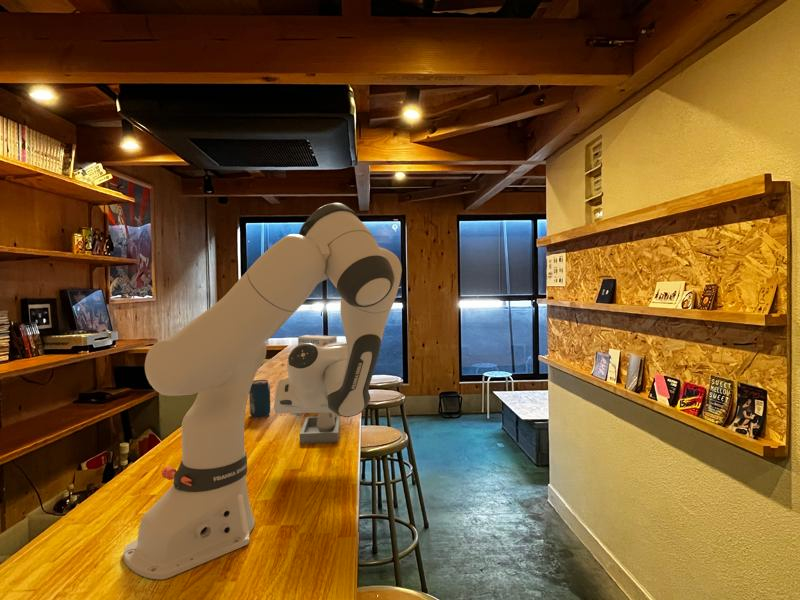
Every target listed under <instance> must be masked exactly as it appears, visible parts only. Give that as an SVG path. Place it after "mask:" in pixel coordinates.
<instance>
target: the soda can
mask: <svg viewBox="0 0 800 600" xmlns="http://www.w3.org/2000/svg"><path fill="white" fill-rule="evenodd" d="M248 399H249V414H250V416H251V417H252V418H254V417H255V418H254V419H262V418H261V417H263V418H266V417H268V416H269V415H270V413H271V385H270V383H269V380H266V379H256V380H255V379H254V380H253V383H252V386H251V389H250V392H249V396H248Z"/></svg>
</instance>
